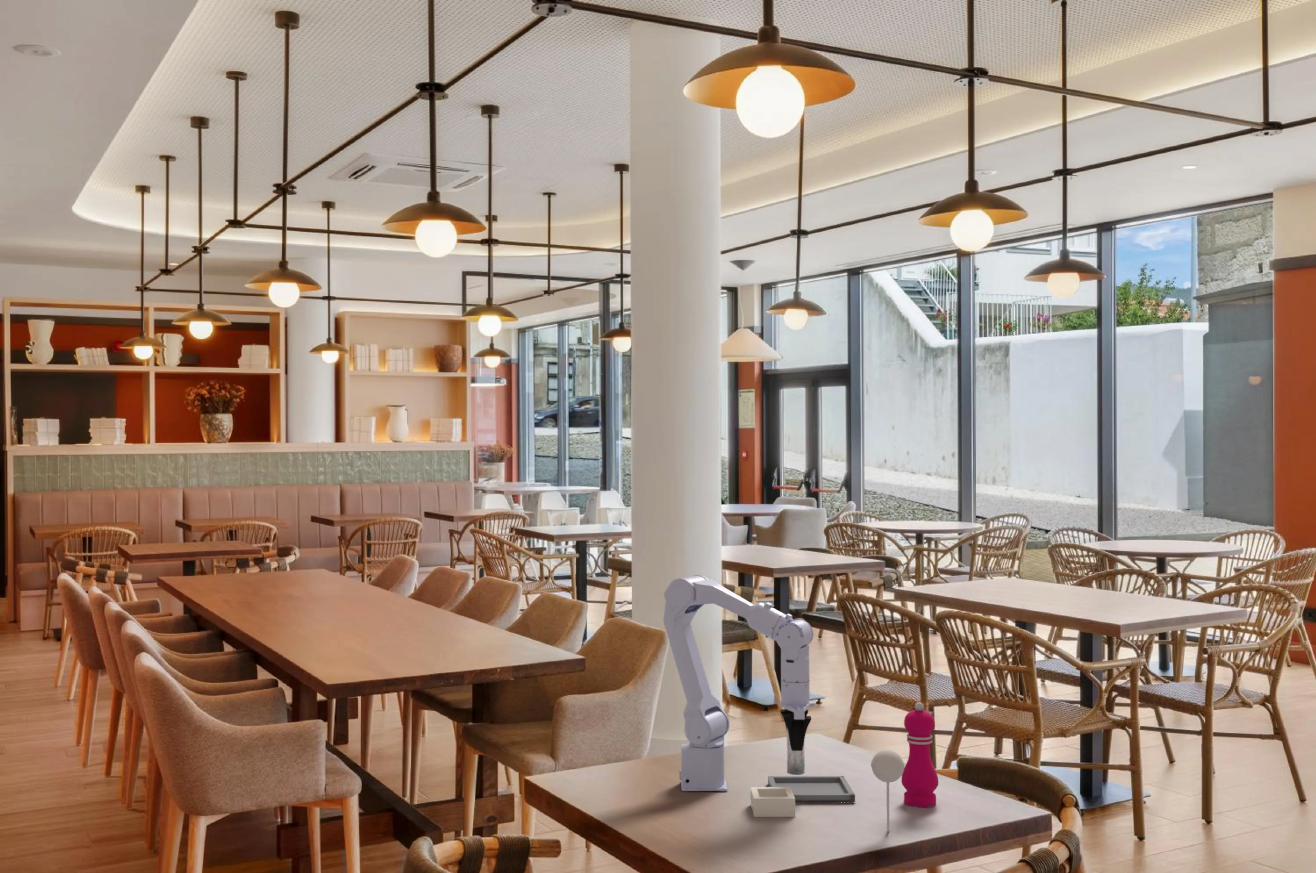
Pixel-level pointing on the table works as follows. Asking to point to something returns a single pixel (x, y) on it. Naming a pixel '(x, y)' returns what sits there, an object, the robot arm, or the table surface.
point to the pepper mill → (919, 759)
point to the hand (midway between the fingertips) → (795, 747)
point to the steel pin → (795, 760)
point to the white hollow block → (772, 802)
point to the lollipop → (887, 770)
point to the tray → (815, 788)
